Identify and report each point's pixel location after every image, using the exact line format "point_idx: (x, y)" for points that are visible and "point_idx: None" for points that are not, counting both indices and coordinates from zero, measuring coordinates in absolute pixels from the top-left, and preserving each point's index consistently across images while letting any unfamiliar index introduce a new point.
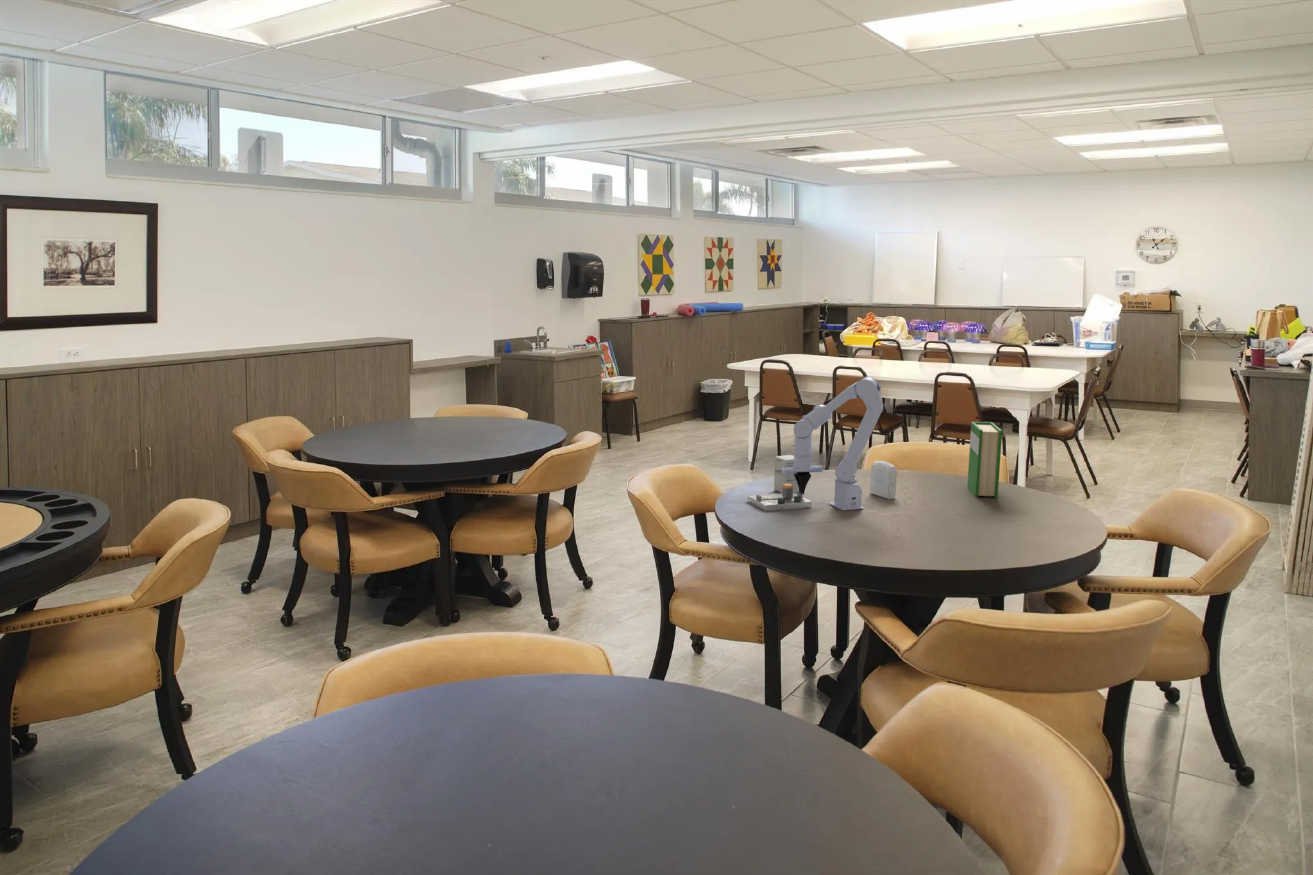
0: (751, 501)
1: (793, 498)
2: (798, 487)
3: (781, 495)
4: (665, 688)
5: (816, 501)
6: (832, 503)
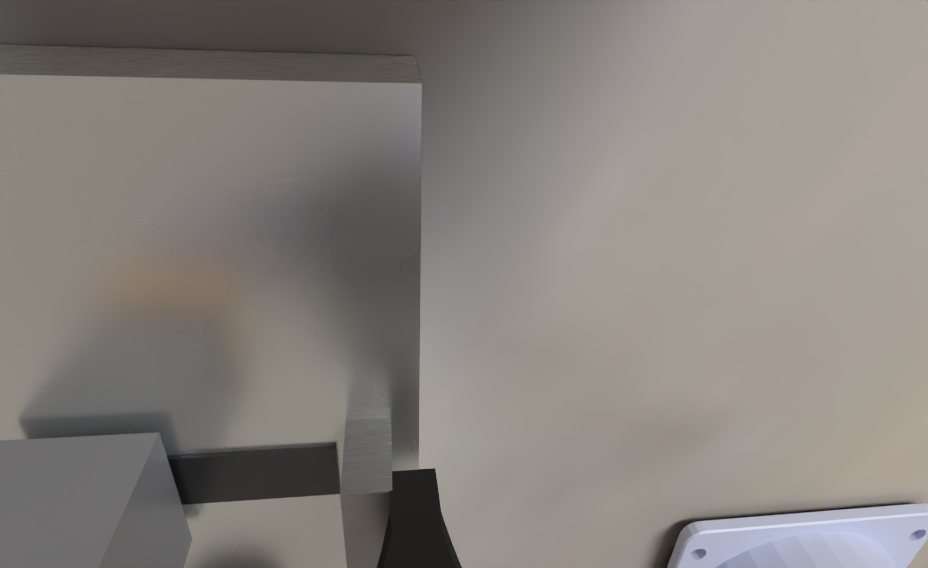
0: None
1: (218, 519)
2: None
3: (10, 302)
4: None
5: (649, 382)
6: (696, 565)
